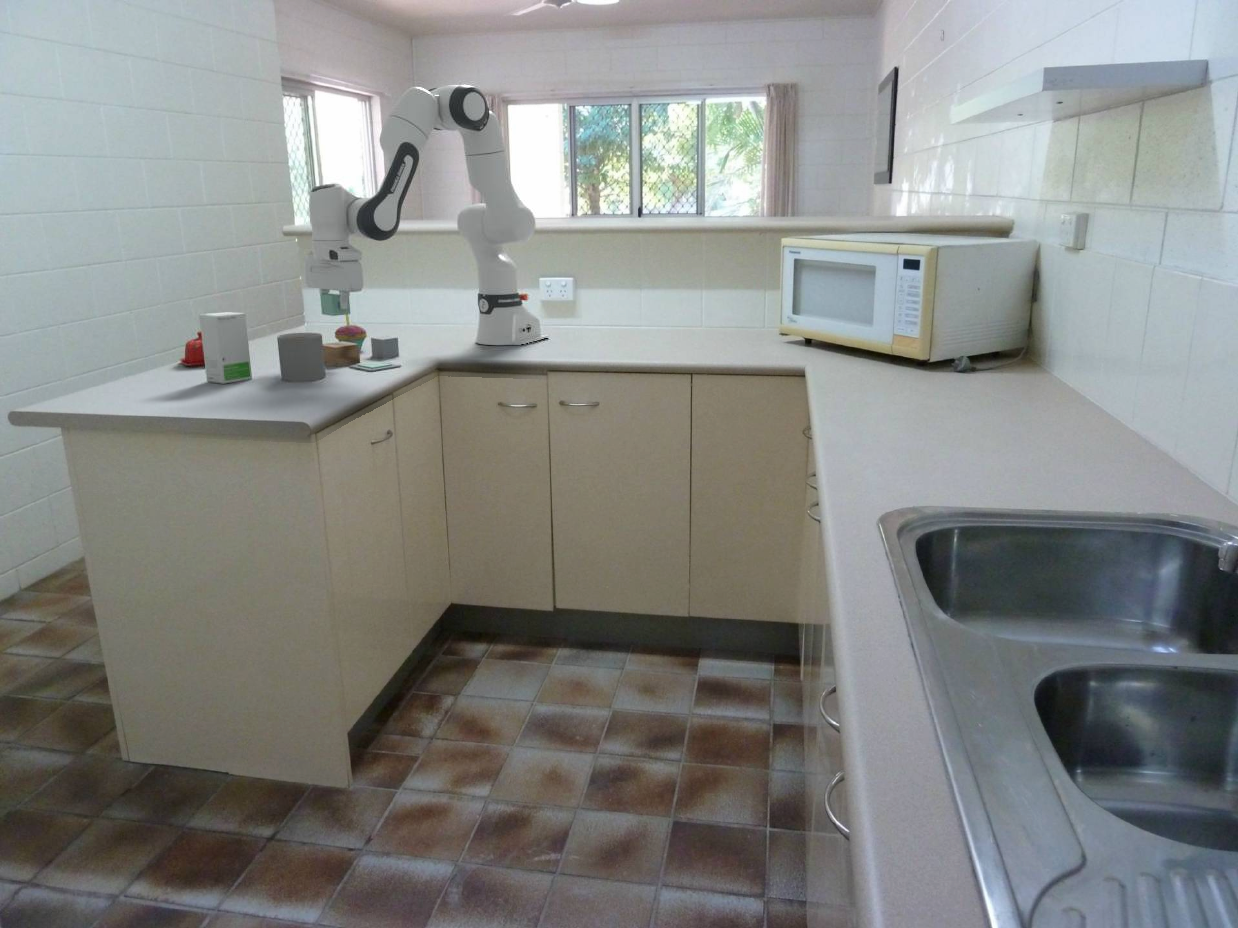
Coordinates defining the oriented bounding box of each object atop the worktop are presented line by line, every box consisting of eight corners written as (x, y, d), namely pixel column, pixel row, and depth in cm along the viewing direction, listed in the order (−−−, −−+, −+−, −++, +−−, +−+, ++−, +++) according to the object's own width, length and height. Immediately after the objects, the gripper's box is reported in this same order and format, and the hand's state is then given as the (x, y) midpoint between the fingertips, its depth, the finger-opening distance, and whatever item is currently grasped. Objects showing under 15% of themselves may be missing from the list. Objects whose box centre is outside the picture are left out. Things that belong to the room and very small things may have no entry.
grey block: (387, 354, 254) (386, 335, 253) (399, 356, 251) (397, 337, 250) (372, 356, 250) (370, 337, 249) (383, 358, 247) (382, 339, 246)
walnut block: (344, 360, 245) (342, 341, 244) (360, 363, 241) (358, 344, 239) (320, 364, 240) (319, 344, 239) (336, 367, 236) (335, 347, 234)
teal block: (321, 314, 237) (320, 294, 235) (339, 312, 240) (337, 292, 239) (333, 316, 233) (331, 295, 232) (350, 314, 237) (348, 294, 236)
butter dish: (179, 363, 242) (174, 330, 239) (226, 359, 248) (222, 326, 245) (184, 370, 232) (180, 335, 230) (234, 365, 238) (230, 332, 236)
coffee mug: (323, 381, 218) (319, 338, 215) (278, 382, 216) (274, 339, 213) (328, 370, 230) (325, 330, 227) (286, 372, 228) (282, 331, 226)
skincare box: (222, 384, 213) (214, 316, 209) (204, 381, 217) (196, 314, 212) (254, 378, 220) (246, 312, 216) (236, 376, 223) (228, 310, 219)
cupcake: (362, 353, 254) (359, 309, 251) (331, 353, 255) (327, 309, 251) (371, 348, 263) (368, 305, 259) (341, 348, 263) (337, 305, 259)
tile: (379, 362, 240) (379, 360, 240) (401, 366, 235) (400, 364, 235) (349, 367, 234) (349, 364, 234) (370, 372, 228) (370, 369, 228)
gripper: (296, 250, 237) (301, 305, 240) (343, 254, 224) (348, 312, 228) (318, 249, 241) (323, 303, 245) (366, 253, 229) (369, 310, 232)
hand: (335, 308), depth 236 cm, fingers closed on teal block, 5 cm apart
